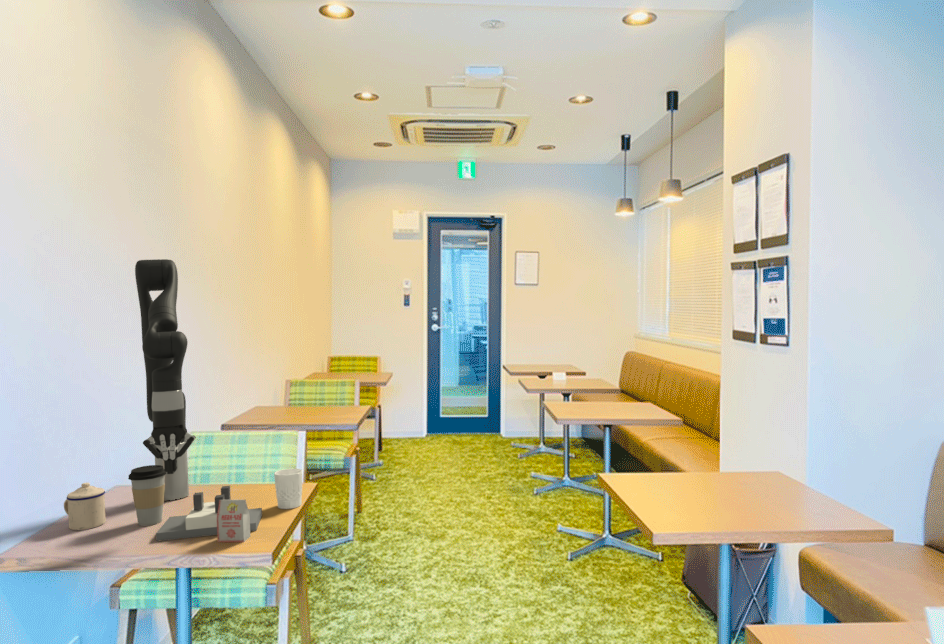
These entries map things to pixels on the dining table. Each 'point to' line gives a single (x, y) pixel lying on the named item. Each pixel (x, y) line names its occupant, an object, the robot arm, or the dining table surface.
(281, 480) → the white cup
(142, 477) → the coffee cup
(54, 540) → the dining table surface
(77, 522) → the teacup with lid
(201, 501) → the handle
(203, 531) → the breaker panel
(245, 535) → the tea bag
